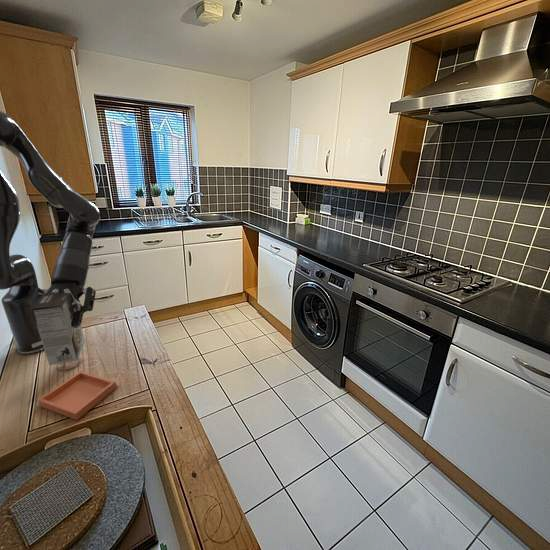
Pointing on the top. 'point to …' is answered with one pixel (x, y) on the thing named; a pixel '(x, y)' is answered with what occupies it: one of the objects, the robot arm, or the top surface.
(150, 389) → the top surface
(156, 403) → the top surface
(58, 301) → the coffee box
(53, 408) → the tray
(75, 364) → the beer glass
